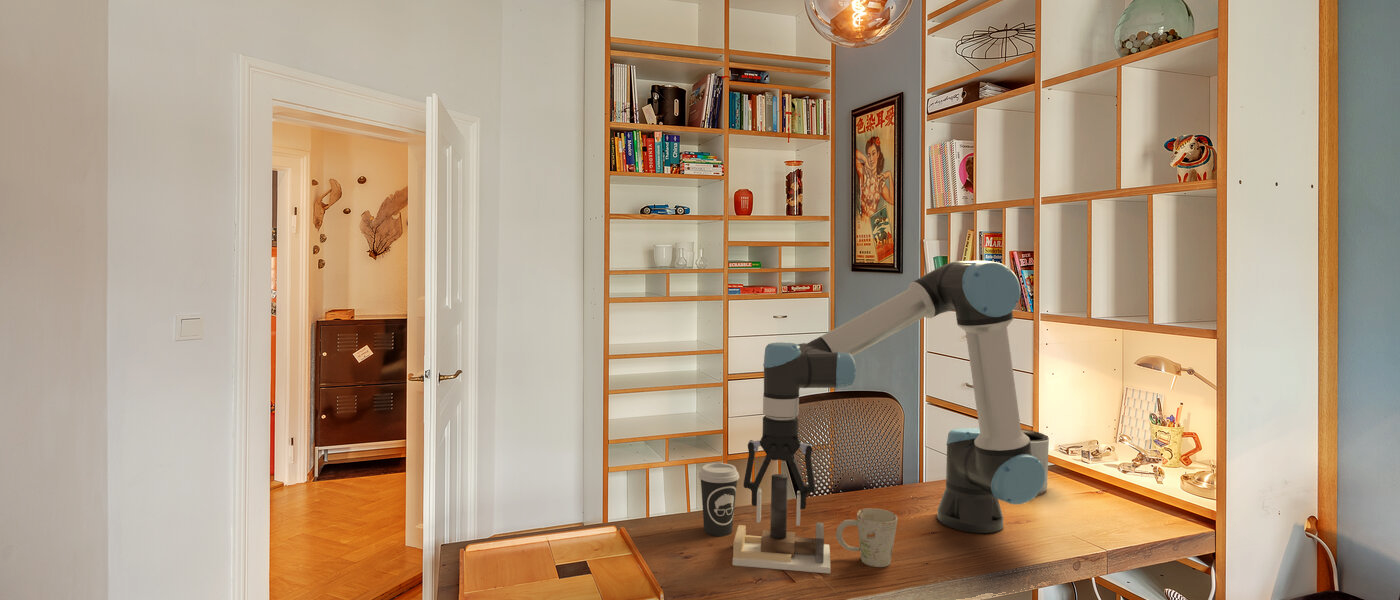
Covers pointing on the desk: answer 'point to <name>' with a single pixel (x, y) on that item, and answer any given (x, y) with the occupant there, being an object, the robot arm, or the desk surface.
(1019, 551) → the desk surface
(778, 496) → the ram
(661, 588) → the desk surface
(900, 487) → the desk surface
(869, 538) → the mug
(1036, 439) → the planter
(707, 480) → the coffee cup
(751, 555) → the white slotted peg base
